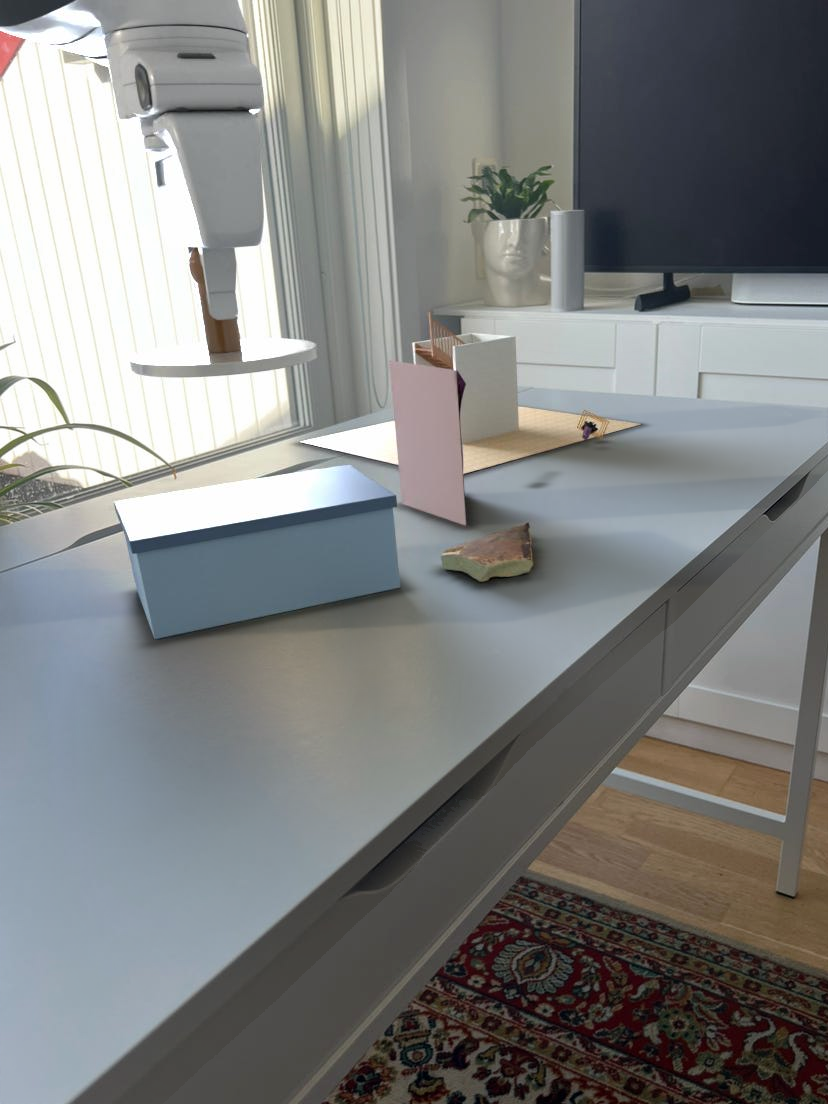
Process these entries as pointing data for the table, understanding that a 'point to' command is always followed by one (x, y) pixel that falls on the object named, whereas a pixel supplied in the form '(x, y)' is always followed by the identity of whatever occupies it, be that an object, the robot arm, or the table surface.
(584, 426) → the framed picture
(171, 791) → the table surface
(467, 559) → the shard
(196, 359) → the peg on round base
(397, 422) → the greeting card
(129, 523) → the storage container
